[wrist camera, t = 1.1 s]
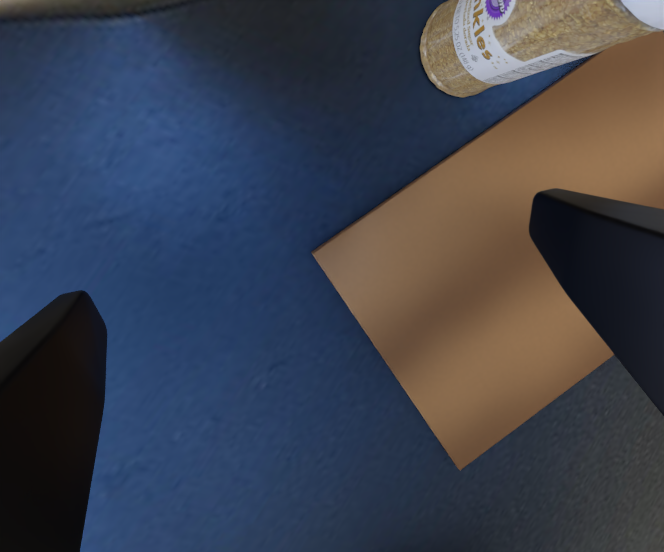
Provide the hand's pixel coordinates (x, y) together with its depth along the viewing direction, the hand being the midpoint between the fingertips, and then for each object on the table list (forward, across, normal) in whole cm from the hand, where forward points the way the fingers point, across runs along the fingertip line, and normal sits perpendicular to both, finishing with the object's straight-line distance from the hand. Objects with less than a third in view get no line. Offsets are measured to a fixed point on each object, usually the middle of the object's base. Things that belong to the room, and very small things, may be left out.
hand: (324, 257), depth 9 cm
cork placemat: (+12, -14, +11) cm, 21 cm away
